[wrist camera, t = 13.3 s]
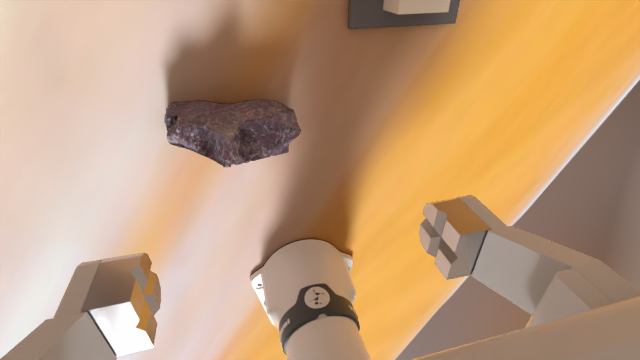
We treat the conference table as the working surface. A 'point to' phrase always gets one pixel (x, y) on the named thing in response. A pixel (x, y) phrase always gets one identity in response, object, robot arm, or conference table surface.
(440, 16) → the mat
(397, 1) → the block
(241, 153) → the stone
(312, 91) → the conference table surface
